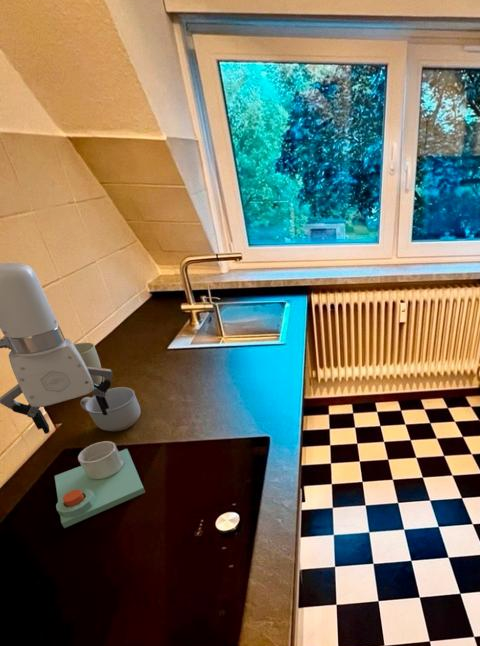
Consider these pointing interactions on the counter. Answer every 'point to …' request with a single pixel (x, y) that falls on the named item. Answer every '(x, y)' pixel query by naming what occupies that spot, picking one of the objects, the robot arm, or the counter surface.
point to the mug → (89, 358)
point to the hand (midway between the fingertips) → (76, 420)
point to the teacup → (114, 409)
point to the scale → (97, 490)
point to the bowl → (100, 460)
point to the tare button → (73, 498)
